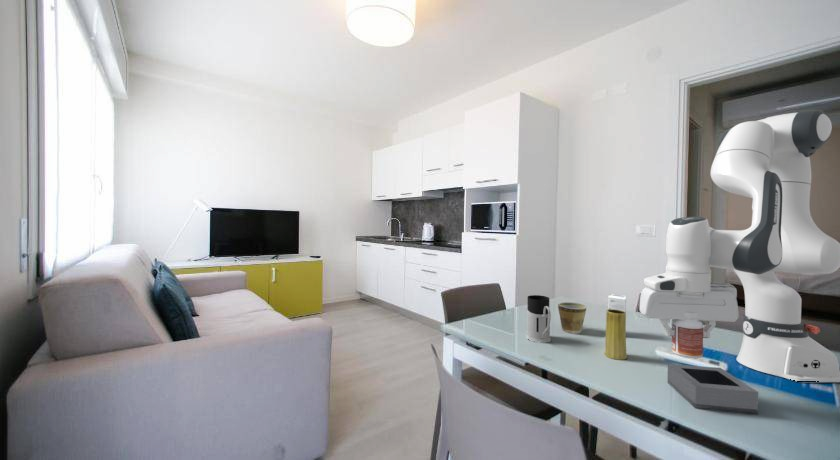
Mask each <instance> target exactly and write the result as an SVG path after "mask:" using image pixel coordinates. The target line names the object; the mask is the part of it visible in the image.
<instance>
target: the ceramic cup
mask: <svg viewBox="0 0 840 460" xmlns="http://www.w3.org/2000/svg"><path fill="white" fill-rule="evenodd" d="M557 308H558V314H559V319H560V325H561V330H563V332H565V333H568V334H573V335H574V334H575V335H576V334H577V335H578V334H580V333H581V332H582V330H583V327H584V322H585V317H586V313H587V306H586V305H585V304H582V303H579V302H578V303H577V302H568V301H566V302H565V301H564V302H559V303H557Z"/></svg>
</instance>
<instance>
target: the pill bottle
mask: <svg viewBox="0 0 840 460" xmlns="http://www.w3.org/2000/svg"><path fill="white" fill-rule="evenodd" d="M684 317H685V318H686V319H685V320H679V319H671V322H670V324H671V326H670V327H671V328H672V329H674V330H675V333H674V334H675V336H671V351H672V352H673V353H674V354H675V355H678V356H680V357H684V358H688V359H701V358H703V355H704V338H703V327H704V325H703V322H702V320H696V319H698V313H688V312H685V313H684Z"/></svg>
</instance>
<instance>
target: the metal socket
mask: <svg viewBox="0 0 840 460" xmlns="http://www.w3.org/2000/svg"><path fill="white" fill-rule="evenodd" d="M667 384H668V385H669V386H671V388H672V389H674V390H675V392H677V393H678V394H679V395H680V396H682V398H684V399H685V401H687V402H688V403H689V404H690V405H691V406H693V408H694V409H701V410H712V411H721V412H722V411H723V412H731V413H740V414H741V413H742V414H752V415H758V414H759V391H757V390H756V389H754V388H753V387H752V386H749V385H748V384H746V383H745V382H743V381H742V380H741V379H739V378H738V377H736V376H734V375H733V374H731V373H729V371H727V370H724V369H723V368H722V367H716V366H715V367H712V366H711V367H710V366H699V365H689V364H688V365H684V364H675V363H674V364H671V363H667Z"/></svg>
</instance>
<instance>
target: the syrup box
mask: <svg viewBox="0 0 840 460" xmlns="http://www.w3.org/2000/svg"><path fill="white" fill-rule="evenodd" d="M607 301H608V302H607V303H608V306H607V307H608V309H616V310H621V311H624V312H626V313H627V296H626V295H622V294H621V295H619V294H612V293H609V294H608V299H607ZM608 309H607V310H608Z"/></svg>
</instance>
